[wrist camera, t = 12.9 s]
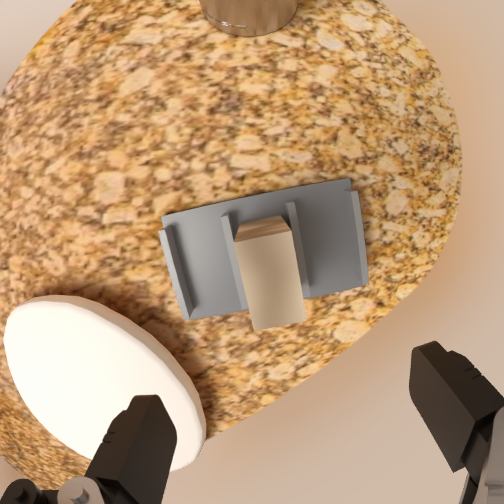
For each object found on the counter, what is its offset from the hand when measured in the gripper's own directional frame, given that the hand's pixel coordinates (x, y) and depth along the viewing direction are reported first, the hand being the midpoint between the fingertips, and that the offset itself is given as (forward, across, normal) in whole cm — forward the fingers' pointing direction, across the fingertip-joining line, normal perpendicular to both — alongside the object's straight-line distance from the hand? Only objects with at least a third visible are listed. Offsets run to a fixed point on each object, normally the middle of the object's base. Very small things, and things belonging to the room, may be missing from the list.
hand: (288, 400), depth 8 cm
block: (+19, 0, 0) cm, 19 cm away
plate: (+20, +23, +14) cm, 34 cm away
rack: (+20, 0, 0) cm, 20 cm away
